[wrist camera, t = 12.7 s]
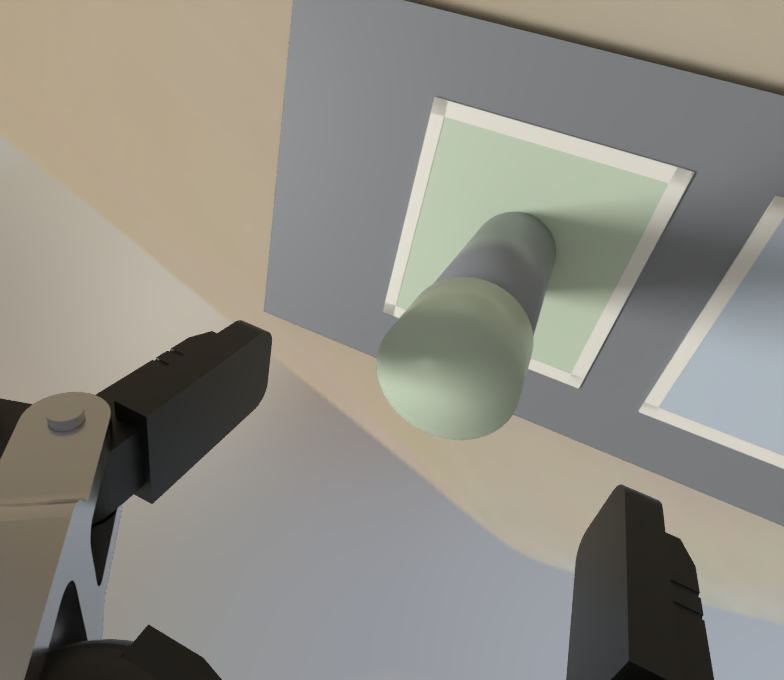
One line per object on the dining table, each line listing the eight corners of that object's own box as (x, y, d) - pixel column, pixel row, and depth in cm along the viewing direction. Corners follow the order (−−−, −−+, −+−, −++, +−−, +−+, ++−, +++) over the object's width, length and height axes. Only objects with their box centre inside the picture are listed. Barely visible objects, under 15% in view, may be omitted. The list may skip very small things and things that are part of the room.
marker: (573, 226, 20) (545, 344, 11) (538, 305, 22) (492, 461, 13) (485, 197, 21) (393, 287, 12) (459, 276, 23) (364, 405, 14)
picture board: (1552, 290, 13) (1732, 331, 11) (1024, 611, 22) (1069, 669, 20) (307, -23, 21) (273, -35, 19) (273, 304, 29) (247, 322, 27)
